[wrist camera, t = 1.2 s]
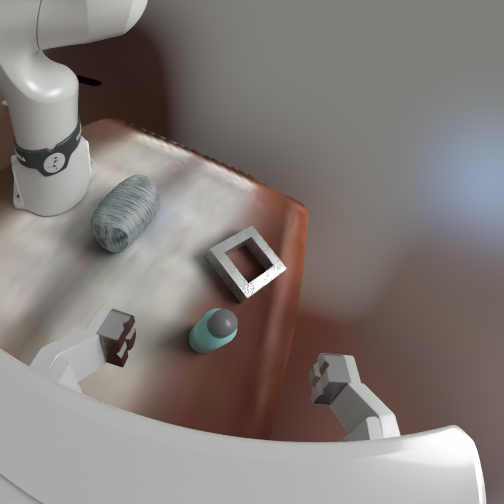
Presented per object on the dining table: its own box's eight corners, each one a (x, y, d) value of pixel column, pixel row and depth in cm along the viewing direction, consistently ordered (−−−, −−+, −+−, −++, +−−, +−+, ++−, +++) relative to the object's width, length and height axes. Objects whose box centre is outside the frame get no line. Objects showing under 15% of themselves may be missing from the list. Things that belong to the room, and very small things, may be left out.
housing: (205, 256, 47) (209, 248, 44) (245, 234, 53) (252, 225, 50) (240, 303, 45) (247, 297, 43) (278, 275, 51) (286, 268, 49)
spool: (127, 269, 37) (112, 207, 31) (87, 254, 39) (71, 199, 33) (175, 225, 47) (171, 171, 42) (135, 216, 50) (128, 167, 44)
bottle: (182, 335, 39) (197, 316, 30) (205, 319, 42) (226, 296, 33) (200, 359, 38) (222, 348, 29) (222, 342, 41) (249, 326, 32)
